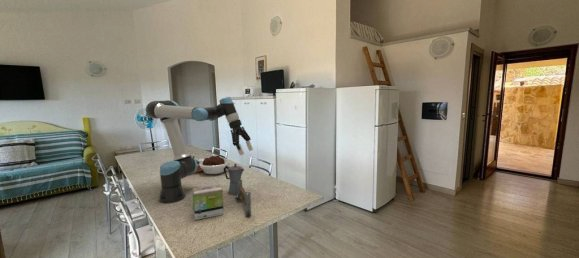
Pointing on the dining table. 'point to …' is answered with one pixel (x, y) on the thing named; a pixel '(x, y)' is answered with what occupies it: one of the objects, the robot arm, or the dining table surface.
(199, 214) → the tea box
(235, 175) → the moka pot
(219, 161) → the bowl of brown food
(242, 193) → the gate
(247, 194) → the gate posts
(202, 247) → the dining table surface
